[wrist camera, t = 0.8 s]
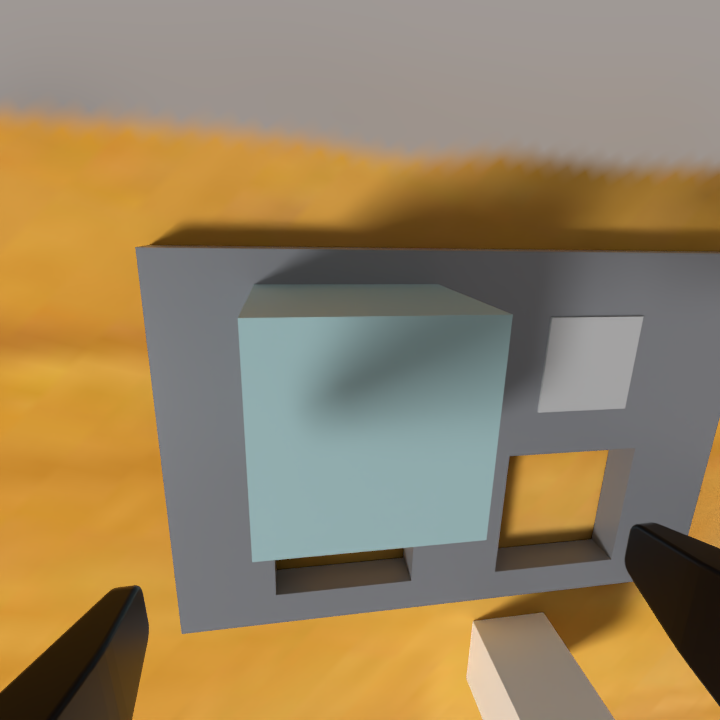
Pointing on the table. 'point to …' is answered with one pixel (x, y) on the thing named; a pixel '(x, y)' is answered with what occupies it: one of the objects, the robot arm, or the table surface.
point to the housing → (369, 416)
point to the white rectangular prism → (528, 673)
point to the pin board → (517, 425)
